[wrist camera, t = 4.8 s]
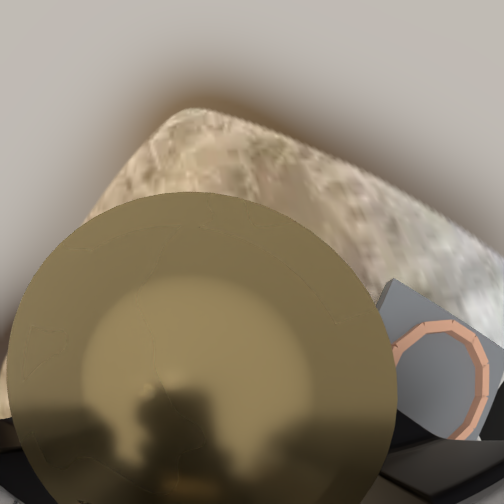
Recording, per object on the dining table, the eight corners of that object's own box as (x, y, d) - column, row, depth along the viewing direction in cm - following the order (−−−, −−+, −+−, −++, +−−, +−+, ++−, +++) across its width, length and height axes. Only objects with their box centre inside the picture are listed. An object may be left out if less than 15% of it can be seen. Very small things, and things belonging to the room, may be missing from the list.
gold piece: (260, 457, 13) (262, 646, 1) (151, 388, 14) (-62, 395, 2) (328, 351, 15) (515, 286, 3) (219, 286, 17) (136, 90, 4)
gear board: (347, 590, 11) (354, 604, 9) (207, 550, 14) (202, 565, 11) (498, 354, 19) (516, 351, 16) (386, 283, 22) (399, 273, 19)
